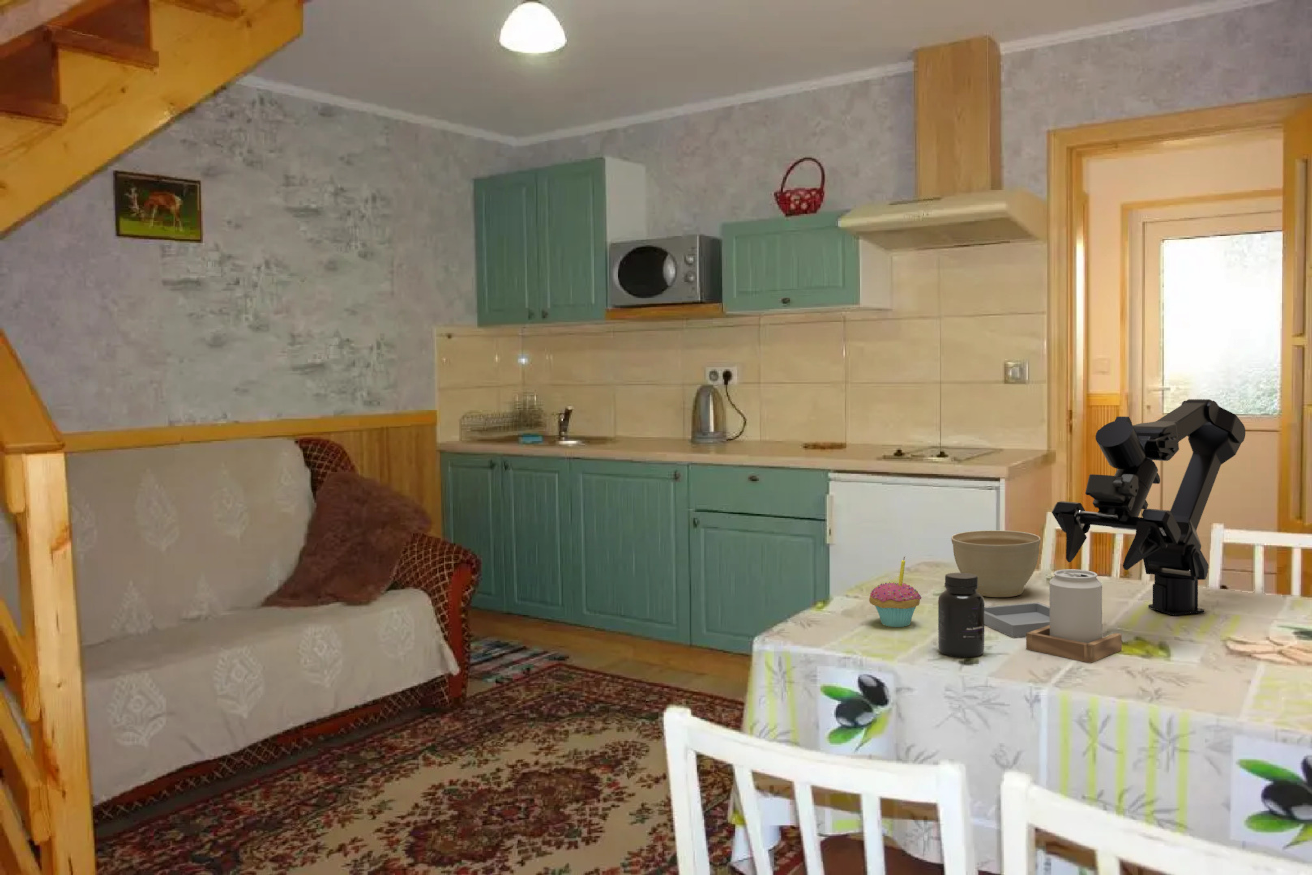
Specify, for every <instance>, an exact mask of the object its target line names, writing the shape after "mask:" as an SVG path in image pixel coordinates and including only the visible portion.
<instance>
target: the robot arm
mask: <svg viewBox="0 0 1312 875" xmlns="http://www.w3.org/2000/svg"><path fill="white" fill-rule="evenodd" d="M1187 437H1188V438H1187ZM1185 438H1187V440H1188V443H1189V445H1190V448H1191V451H1192V453H1191V457H1190V459H1189V462H1188V464H1187V467H1186V470H1185V472H1184V475H1183V477H1182V480H1181V482H1180V485H1179V487H1178V490H1177V492H1176V494H1175V498H1174V500H1173V502H1172V506H1171V508H1170V510H1169V509H1168V510H1166V509H1158V508H1157V509H1156V508H1148V506H1149V504H1148V502H1147V497H1148V495H1149V493H1150V491H1151V488H1152V487H1153V486H1152V485H1153V484H1155V485H1156V484H1157V485H1159V484H1160V483H1161V477H1160V475H1159V473H1158V472H1159V469H1158V467H1157V464H1156V463H1155V461H1162V462H1167V461H1170V460H1171V459H1172V458H1173V457H1174V456H1175V455H1176V454H1177V453H1178V452H1179V450H1180V446H1179V444H1180V443H1179V442H1180V441H1182V440H1183V439H1185ZM1245 439H1246V426H1245V425H1244V423H1243V422H1242V421H1241V419H1240V418H1239V417H1238V415H1237V414H1236V413H1233V412H1231V411H1230V410H1227V409H1225V408H1223V407H1221V406H1219V404H1218V402H1217V401H1215V400H1212V399H1208V398H1204V399H1202V398H1201V399H1200V398H1199V399H1198V398H1193V399H1192V398H1188V399H1187V400H1183V401H1182V402H1181V405H1179V406H1178V407H1176V408H1174V409H1173V410H1172V411H1170V412H1168V413H1167V414H1166V415H1164V416H1162V417H1161V418H1159V419H1158V420H1155V421H1149V422H1142V423H1141V422H1140V423H1137V424H1134V425H1133V422H1132V420H1131V418H1130V416H1119V415H1118V416H1116V417H1115V420H1113V421H1111V422H1108V423H1106V424H1104V425H1103V426H1102V427H1101V428H1099V429H1098V430H1097V431H1096V433H1095V441H1096V443H1097V445H1098V446H1099V449H1100V450H1101V452H1102V454H1103V455H1104V457H1105V459H1106V461H1107V462H1108V465H1109V466H1110V467H1112V468H1114V469H1116V472H1115V473H1114V475H1108V474H1096V473H1095V474H1093V473H1092V474H1089V475H1088V480H1087V484H1086V489H1085V491H1084V492H1085V495H1086V496H1089V497H1090V498H1092V499H1093V500H1092V504H1093V507H1094V508H1095V509H1096V508H1097V509H1098V511H1087V510H1086V509H1085V508H1084V506H1083V504H1082V502H1074V501H1064V500H1061V501H1057V502H1056V503H1055V504H1054V507H1053V509H1052V511H1051V514H1052V515H1053V517H1054V519H1055V520H1056V523H1057V524H1058V525H1059V527H1060V529H1061V530H1062V532H1064V533H1065V541H1066V542H1065V543H1066V544H1065V559H1066V561H1067V563H1071V562H1072V561H1073V560H1074V559H1075V557H1076V556H1077V554H1078V553H1079V552H1080V550H1081V548H1082V546H1083V545H1084V543H1085V542H1086V540H1087V538H1088V537H1087V535H1086V534H1087V533H1088V532H1089V531H1090V528H1091V525H1092V526H1101V527H1111V528H1112V529H1117V530H1119V529H1120V530H1128V531H1135V535H1134V538H1133V539H1132V542H1131V544H1130V546H1129V548H1128V550H1127V552H1126V555H1125V557H1124V560H1123V563H1122V567H1123V569H1124V571H1128V570H1130V569H1131V568H1132V567H1134V566H1136V564H1138V563H1139V562H1141V561H1142V560H1143V565H1144V569H1145V574H1146V575H1154V583H1153V584H1152V604H1151V603H1150V604H1148V605H1147V606H1148V609H1152V610H1156V611H1158V612H1161V613H1164V614H1167V615H1170V616H1182V615H1191V614H1194V615H1195V614H1204V613H1205V609H1203V608H1200V607H1199V581H1204V580H1207V577H1208V573H1209V563H1208V562H1207V560H1206V558H1205V555H1204V554H1203V552H1202V551H1201V550H1202V544H1201V543H1202V542H1201V541H1200V538H1199V535H1198V532H1197V529H1198V527H1199V524H1200V521H1201V519H1202V516H1203V514H1204V510H1205V508H1206V505H1207V504H1208V500H1209V498H1210V495H1211V493H1212V489H1213V487H1214V484H1215V482H1216V480H1217V476H1218V474H1219V472H1220V468H1221V465H1223V464H1224V463H1226V462H1227V461H1229V460H1230V459H1232V458H1233V457H1234V456H1236V455H1237V452H1238V451H1239V449H1240V447H1241V444H1242V443H1244V441H1245ZM1142 510H1143V511H1142ZM1141 512H1142V513H1141ZM1140 513H1141V517H1140Z"/></svg>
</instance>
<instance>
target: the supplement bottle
mask: <svg viewBox="0 0 1312 875" xmlns="http://www.w3.org/2000/svg"><path fill="white" fill-rule="evenodd" d="M944 588H946V590H944V591H941V593H940V594H939V596H938V602H937V604H938V606H937V610H938V611H937V612H938V614H937V616H938V618H937V619H938V620H937V621H938V623H937V624H938V628H937V630H938V632H937V633H938V634H937V635H938V638H937V640H938V642H937V643H938V644H937V645H938V650H939V651H940V653H941V654H943V655H946V656H948V657H953V658H955V657H956V658H975V657H980V656H982V655H983V654H984V652H985V625H984V607H985V599H984V596H982V595H981V594H980V593H978V592H977V591H976V589H977V588H978V577H977V576H976V575H974V574H969V573H960V572H949V573H947V574H945V575H944Z"/></svg>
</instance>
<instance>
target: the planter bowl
mask: <svg viewBox="0 0 1312 875" xmlns="http://www.w3.org/2000/svg"><path fill="white" fill-rule="evenodd" d="M950 539H951V540H950V541H951V545H952V550H953V551H952V552H953V556H954V560H955V563H956V566H957V568H958V570H959V573H969V574H974V575H976V576H977V577H978V588H977V589H976V591H977V592H978V593H980V594H981V595H982V596H983V597H986V598H987V597H988V598H1011V597H1016V596H1019V595H1022V594H1023V593H1024V588H1025V586H1026V584H1027V583H1028V582H1029V580H1030V579H1031V578H1032V576H1033V574H1034V572H1035V570H1036V566H1037V564H1038V561H1039V560H1038V559H1039V557H1040V556H1039V555H1040V554H1039V553H1040V544H1041V536H1039V535H1037V534H1034V533H1030V532H1024V531H1016V530H999V529H998V530H994V529H993V530H992V529H991V530H988V529H987V530H984V529H983V530H971V531H964V532H958V533H955V534H952V536H951V538H950Z"/></svg>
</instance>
